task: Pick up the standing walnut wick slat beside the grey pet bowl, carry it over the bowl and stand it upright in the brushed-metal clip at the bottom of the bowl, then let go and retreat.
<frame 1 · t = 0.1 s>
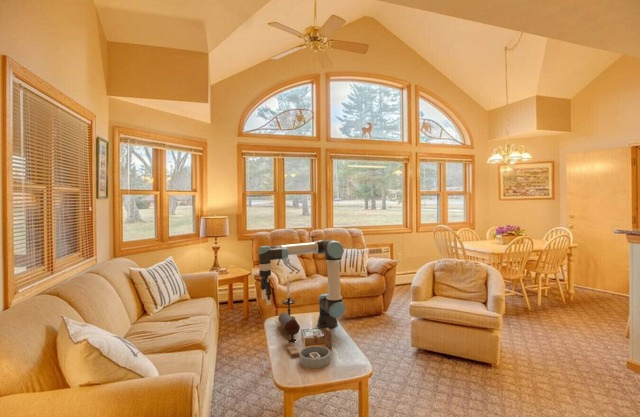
hand: (266, 301, 221), 28 cm above the table, fingers open, 13 cm apart
ice cream bowl: (292, 341, 225), on the table
candlestick: (289, 319, 267), on the table
wick slat: (328, 348, 213), on the table
bluetooth speaker: (287, 330, 245), on the table
grey pet bowl: (315, 360, 196), on the table
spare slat: (293, 353, 208), on the table
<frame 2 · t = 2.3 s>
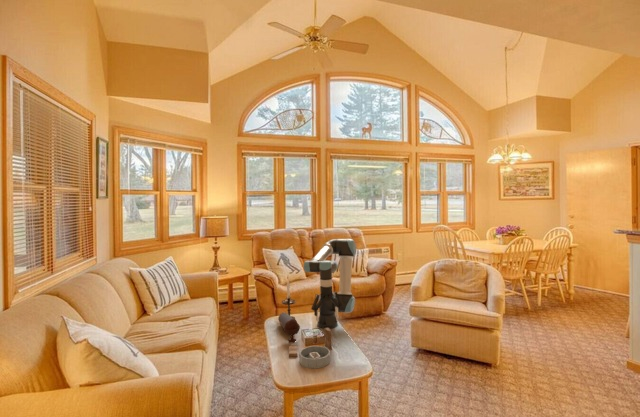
hand: (327, 319, 212), 18 cm above the table, fingers open, 13 cm apart
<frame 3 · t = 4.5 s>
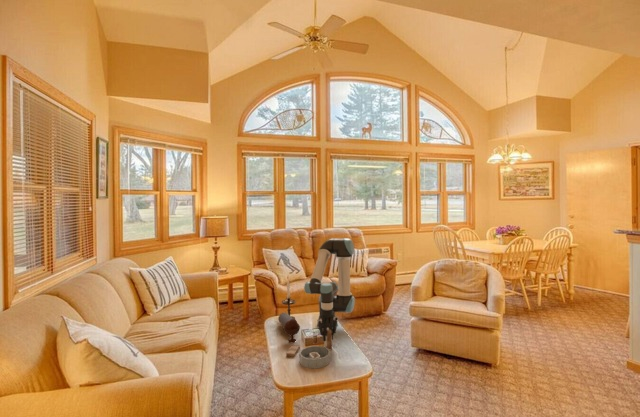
hand: (328, 345, 213), 2 cm above the table, fingers closed on wick slat, 2 cm apart
wick slat: (328, 348, 213), on the table, touching gripper
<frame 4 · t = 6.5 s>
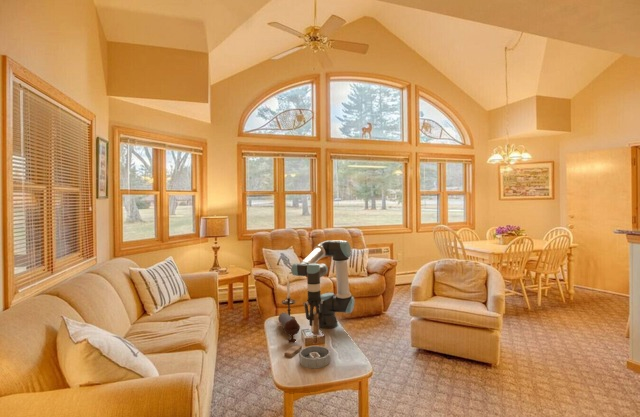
hand: (315, 330, 197), 17 cm above the table, fingers closed on wick slat, 2 cm apart
wick slat: (315, 333, 197), point 16 cm above the table, touching gripper
when the fingers open (5 cm above the table, at t = 8.5 s): wick slat drops 2 cm, resting on grey pet bowl.
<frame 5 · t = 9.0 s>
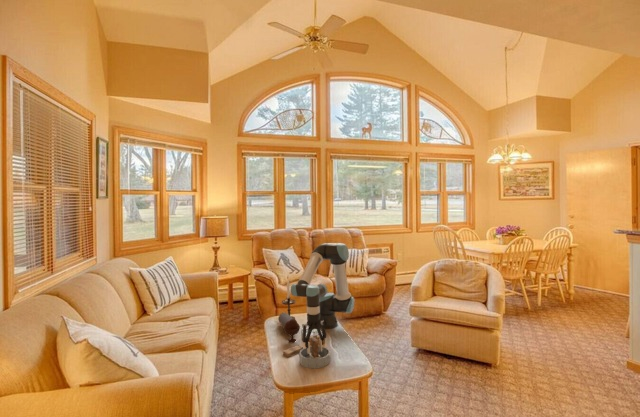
hand: (314, 351, 196), 5 cm above the table, fingers open, 7 cm apart
wick slat: (315, 359, 196), point 1 cm above the table, touching grey pet bowl
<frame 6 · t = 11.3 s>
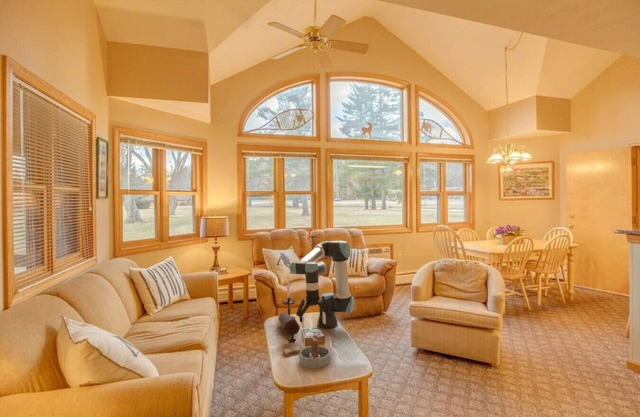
hand: (313, 325, 196), 21 cm above the table, fingers open, 13 cm apart
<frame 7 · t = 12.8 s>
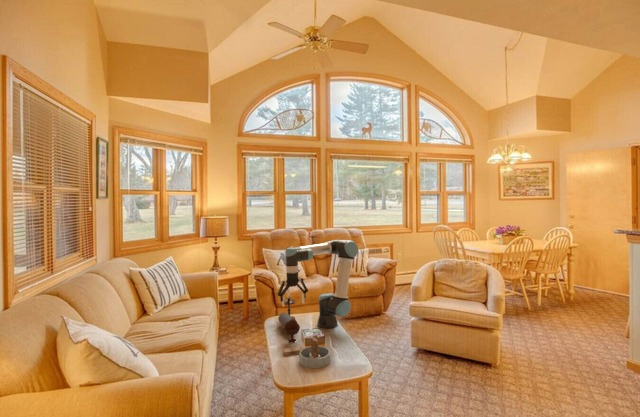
hand: (293, 304, 217), 27 cm above the table, fingers open, 13 cm apart
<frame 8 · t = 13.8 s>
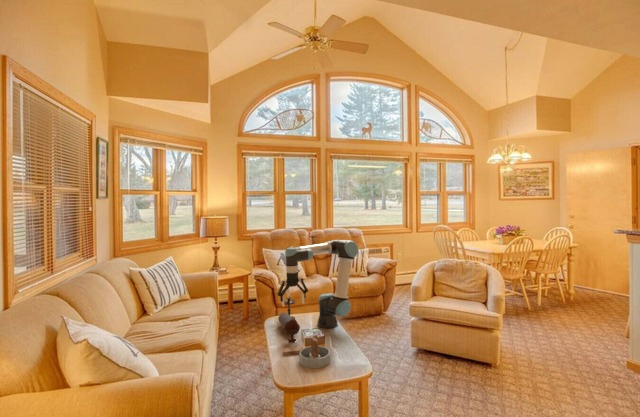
hand: (293, 304, 217), 27 cm above the table, fingers open, 13 cm apart
at the end: wick slat 0.0 cm off-centre on the grey pet bowl, point 0.6 cm above the grey pet bowl's base; wick slat tilted 0°; the gripper is holding nothing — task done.
